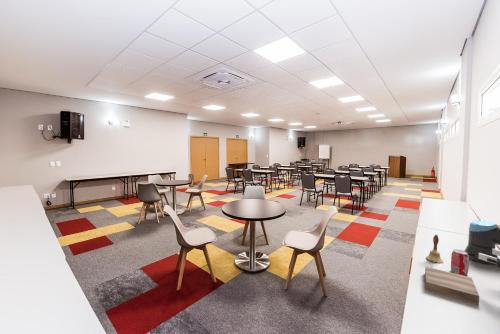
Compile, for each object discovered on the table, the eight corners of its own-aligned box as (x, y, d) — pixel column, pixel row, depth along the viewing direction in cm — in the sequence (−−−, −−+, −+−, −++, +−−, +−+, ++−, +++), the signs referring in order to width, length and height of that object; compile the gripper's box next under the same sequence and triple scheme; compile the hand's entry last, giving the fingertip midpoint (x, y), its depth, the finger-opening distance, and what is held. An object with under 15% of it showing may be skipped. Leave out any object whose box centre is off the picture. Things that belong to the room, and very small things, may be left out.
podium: (425, 273, 122) (425, 266, 122) (470, 285, 111) (471, 277, 111) (426, 289, 108) (426, 281, 107) (478, 304, 97) (479, 296, 96)
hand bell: (443, 259, 138) (444, 234, 137) (443, 264, 131) (444, 238, 130) (425, 255, 143) (427, 231, 142) (425, 260, 137) (426, 235, 136)
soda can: (467, 272, 123) (469, 251, 122) (468, 278, 117) (469, 255, 117) (450, 268, 127) (451, 247, 127) (450, 273, 122) (451, 251, 121)
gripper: (543, 289, 88) (472, 265, 107) (566, 276, 97) (497, 256, 117) (544, 271, 87) (473, 250, 107) (567, 259, 97) (498, 242, 116)
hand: (485, 253), depth 112 cm, fingers open, 13 cm apart
